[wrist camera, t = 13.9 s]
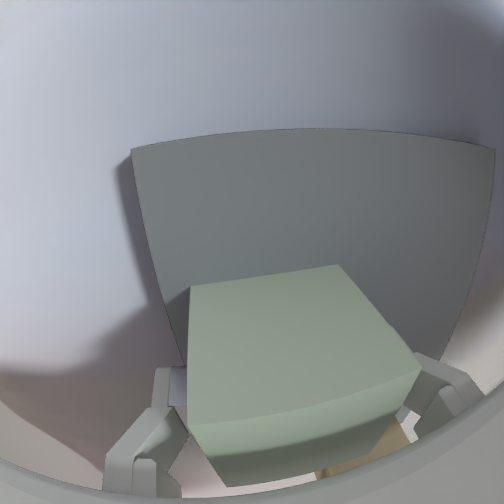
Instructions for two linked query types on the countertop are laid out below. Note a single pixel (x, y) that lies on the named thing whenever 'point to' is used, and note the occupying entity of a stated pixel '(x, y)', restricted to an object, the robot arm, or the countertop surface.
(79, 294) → the countertop surface
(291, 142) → the grey flat slab
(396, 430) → the maple block
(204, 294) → the sage block
